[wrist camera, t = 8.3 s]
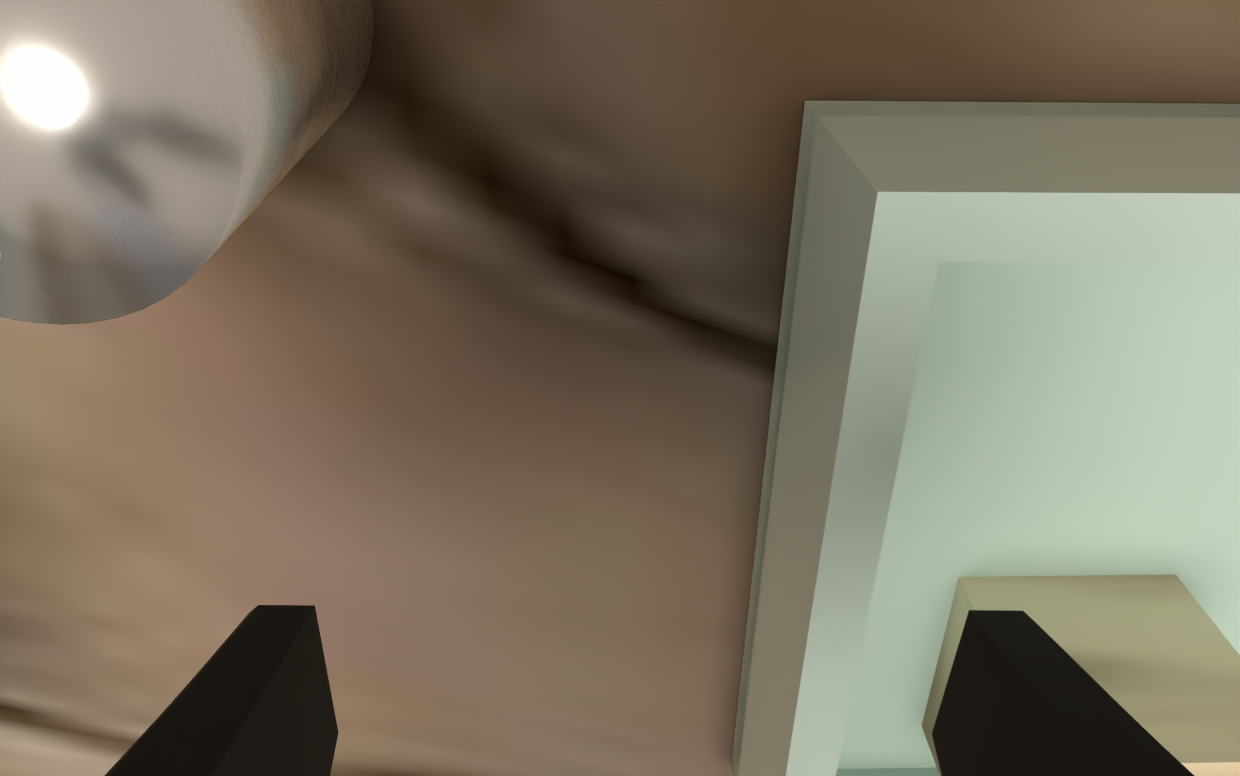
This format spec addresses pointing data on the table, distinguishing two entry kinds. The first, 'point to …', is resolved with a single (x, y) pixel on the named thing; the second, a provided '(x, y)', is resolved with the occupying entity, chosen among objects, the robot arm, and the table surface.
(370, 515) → the table surface
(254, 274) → the table surface
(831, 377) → the tote
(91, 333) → the table surface
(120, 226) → the metal cylinder
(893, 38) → the table surface
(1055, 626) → the maple block
